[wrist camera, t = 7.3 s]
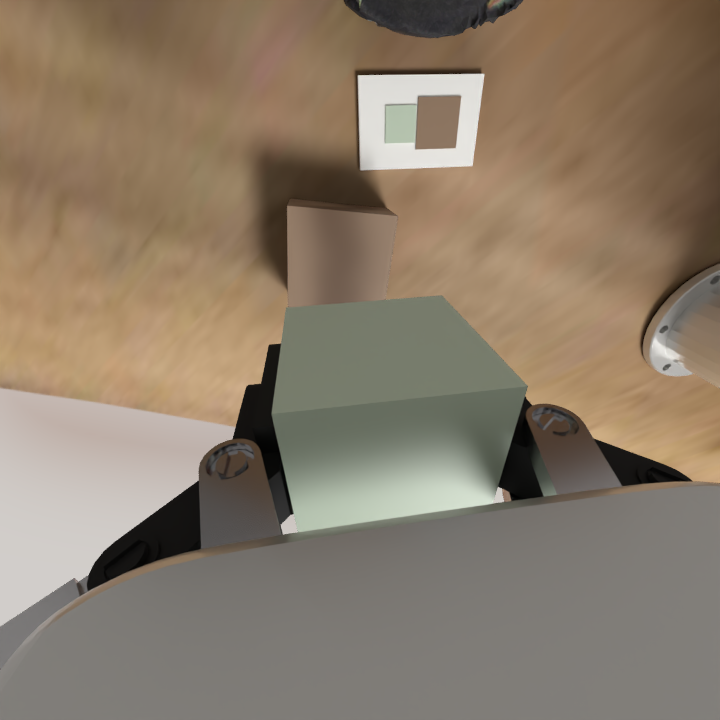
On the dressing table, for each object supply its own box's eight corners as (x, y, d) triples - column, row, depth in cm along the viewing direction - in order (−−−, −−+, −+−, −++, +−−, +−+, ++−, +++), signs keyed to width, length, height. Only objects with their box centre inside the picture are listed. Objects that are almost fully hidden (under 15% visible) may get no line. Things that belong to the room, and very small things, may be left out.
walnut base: (386, 207, 25) (398, 216, 21) (374, 296, 28) (382, 316, 25) (290, 198, 24) (287, 205, 20) (290, 292, 27) (287, 311, 24)
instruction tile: (482, 74, 21) (485, 73, 21) (470, 165, 24) (472, 166, 23) (357, 76, 20) (358, 74, 20) (359, 170, 23) (360, 170, 23)
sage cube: (441, 295, 11) (527, 385, 7) (429, 412, 13) (484, 530, 9) (285, 307, 10) (271, 413, 6) (304, 426, 13) (303, 558, 9)
